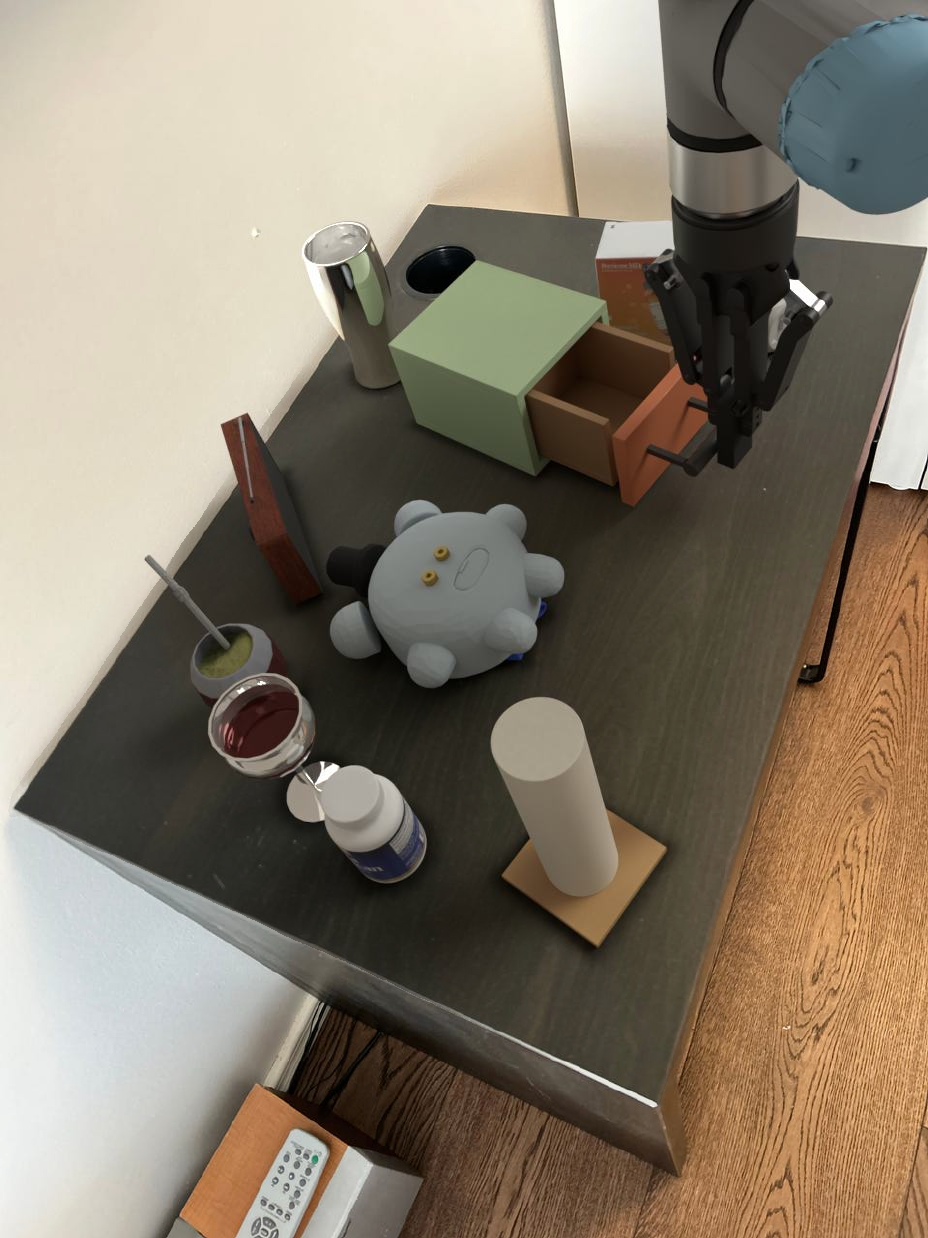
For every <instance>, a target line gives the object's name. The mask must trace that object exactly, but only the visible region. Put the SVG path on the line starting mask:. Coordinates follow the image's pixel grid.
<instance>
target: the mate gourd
mask: <svg viewBox="0 0 928 1238" xmlns="http://www.w3.org/2000/svg"><path fill="white" fill-rule="evenodd" d="M143 559H144V561H145V562H146V564H148V566H149V567H150V568H152V570H153V571H154V572H155V573H156V574H157V575H158V576H159V578H161V579H162V580H163V581H164V582H165V583H166V585H167V586H168V587H169V588H170V589H171V590H172V591H173V595H174V596H175V597H176V598H177V599H178V600H179V602H180V603H183V604H184V605H185V606H186V607H187V608H188V609H189V611H191V612H192V614H193V615H194V616H195V617H196V619H198V621H199V622H200V623H201V624H202V625H203V627H204V628H205V629H206V630H207V631H208V632H207V633H206V634H205V635H203V637H202V638H201V640H200V641H199V642H198V643H197V644H196V645H195V647H194V651H193V653H192V656H191V658H190V665H189V668H190V680H191V682H192V684H193V686H194V688H195V690H196V692H197V694H198V695H199V697H201V699H202V701H203V702H204V704H205V705H206V706H207V707H209V708H210V709H211V710H213V707H214V705H215V704H216V702H217V701H218V700H219V698H220V697H221V695H222V694H223V693H224V692H225V691H226V690H228V689H229V688H230V687H231V686H232V685H233V684H235V683H236V682H238V681H240V680H242V679H244V678H246V677H248V676H252V675H256V674H261V673H272V674H278V675H281V676H283V677H286V678H288V679H289V675H288V670H287V664H286V660H285V655H284V654H283V652H282V650H281V649H280V647H279V646H278V644H277V643H276V642H275V640H274V639H273V638H272V637H271V636H270V635H269V634H267V633H266V632H264V630H263V629H261V628H258V627H256V626H254V625H251V624H250V623H226V624H223V625H220V626H215V625H214V624H213V623H212V622H211V621H210V619H209V618H208V617H207V616H206V615H205V614H204V613H203V611H202V610H201V609H200V608H199V606H197V604H196V603H195V602H194V600H193V599H192V598H191V597H190V593H189V592H188V591H187V590H186V589H185V588H184V587H183V586H182V585H179V583H178V582H177V581H176V580H175V579H174V578H173V577H172V576H171V575H170V574H169V573H168V572H167V570H165V569H164V568H163V566H161V564H160V563H158V561H156V559H154V557H153V556H151V554H147V555H146V556H145V557H144V558H143Z"/></svg>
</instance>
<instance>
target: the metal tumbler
mask: <svg viewBox="0 0 928 1238" xmlns="http://www.w3.org/2000/svg"><path fill="white" fill-rule="evenodd" d="M301 257H302V259H303V261H304V264H305V267H306V270H307V273H308V277H309V280H310V282H311V286H312V288H313V291H314V293H315V296H316V298H317V300H318V303H319V305H320V307H321V308H322V310H323V312H324V314H325V315H326V317H327V319H328V320H329V322H330V323H331V325H332V326H333V328H334V329H335V331H336V332H337V333H338V335H339V337H340V338H341V339H342V342H343V343H344V344H345V347H346V348H347V350H348V351H349V355H350V358H351V361H352V367H353V372H354V376H355V379H356V381H357V383H359V384H360V386H362V387H365V388H367V389H372V390H373V389H374V390H379V389H385V388H389V387H391V386H393V385H395V384H398V383H399V382H401V378H400V376H399V373H398V370H397V368H396V365H395V362H394V359H393V357H392V354H391V351H390V349H389V346H388V344H389V343H390V342H391V341H392V340H393V339H395V338H396V337H397V336H398V335H399V334H400V333H399V331H398V327H397V322H396V317H395V316H396V315H395V309H394V301H393V295H392V290H391V286H390V281H389V277H388V274H387V271H386V267H385V265H384V263H383V259H382V257H381V255H380V252H379V250H378V248H377V245H376V244H375V241H374V239H373V237H372V235H371V231H370V229H369V228H368V227H367V225H365V224H364V223H361V222H358V221H353V220H345V221H344V220H343V221H338V222H334V223H331V224H329V225H326V226H324V227H322V228H320V229H318V230H317V231H315V232H314V233H312V235H310V236H309V238H307V239H306V241H305V242H304V244H303V246H302V249H301Z"/></svg>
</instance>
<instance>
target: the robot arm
mask: <svg viewBox="0 0 928 1238" xmlns="http://www.w3.org/2000/svg"><path fill="white" fill-rule="evenodd" d="M657 2H658V4H657V5H658V16H659V17H658V19H659V31H660V45H661V57H662V69H663V71H662V72H663V85H664V96H665V97H664V98H665V109H666V113H665V114H666V143H667V164H668V184H669V185H668V186H669V189H670V192H671V197H670V207H671V220H672V226H673V242H674V247H675V249H674V250H672V249H666V250H664V252H663V253H662V254H661V255H660V256H659V257H658V258H657V259H656V260H655V261H654V262H653V263H652V264H651V265H650V266H649V267H648V268H647V269H646V270H645V272H644V276H645V279H646V280H647V282H648V284H649V285H650V287H651V288H652V290H653V292H654V293H655V295H656V296H657V298H658V300H659V303H660V306H661V310H662V313H663V316H664V320H665V323H666V326H667V329H668V333H669V336H670V339H671V343H672V346H673V349H674V357H675V359H676V363H678V366H679V369H680V372H681V375H682V378H683V380H684V381H685V383H687V384H689V385H694V384H695V383H697V384H698V385H700V386H701V387H703V391H704V394H705V395H706V396H707V408H708V419H707V421H708V422H709V424H710V425H713V426H715V427H717V453H716V463H717V464H719V465H721V466H724V467H726V468H729V469H731V470H736V468H737V467H738V465H740V462H741V461H742V460H743V459H744V458H745V457H746V455H747V454H748V453H749V452H750V451H751V449H752V448H753V434H754V433H755V432H756V431H757V430H758V428H759V427H760V426H761V425H762V423H763V412H770V411H772V409H773V408H774V407H775V406H776V405H777V403H778V402H779V401H780V400H781V399H782V398H783V396H784V395H785V394H786V393H787V392H788V390H789V388H790V387H791V385H792V381H793V379H794V377H795V374H796V372H797V369H798V368H799V367H798V366H799V364H800V361H801V359H802V356H803V354H804V351H805V349H806V346H807V343H808V341H809V339H810V336H811V334H812V331H813V329H814V327H815V325H816V324H817V323H818V322H819V321H820V320H821V318H823V316H824V315H825V314H826V312H828V311H829V309H830V307H831V306H832V305H833V304H834V298H833V295H831V294H830V293H829V292H828V291H825V290H819V291H818V292H816V293H815V294H814V293H813V292H812V291H810V290H809V289H808V288H807V287H806V286H805V285H804V284H803V283H802V282H801V281H800V276H801V273H800V267H799V265H798V263H797V261H796V258H795V254H794V253H795V252H794V250H795V244H796V240H797V235H798V225H799V224H798V222H799V208H800V207H799V205H800V190H801V187H800V185H801V184H800V180H802V181H803V182H804V183H805V184H807V186H808V187H812V188H815V189H816V191H817V190H821V191H823V192H824V193H825V194H827V195H829V196H830V197H832V198H833V199H835V200H836V201H838V202H839V203H841V204H842V205H844V206H845V207H847V208H848V209H849V210H852V211H854V212H856V213H860V214H862V215H863V214H864V215H870V216H882V215H889V214H894V213H898V212H902V211H905V210H907V209H909V208H912V207H913V206H915V205H918V204H919V203H921V202H923V201H925V200H926V199H928V0H657ZM799 179H800V180H799ZM782 299H784V300H785V302H786V309H785V311H784V314H785V317H784V319H783V322H784V324H786V325H787V326H786V328H785V329H784V330H783V332H782V333H781V335H780V337H779V340H778V343H777V346H776V348H775V351H773V355H772V357H771V360H770V363H769V366H768V356H769V355H768V354H769V352H768V322H769V316H770V314H771V311H772V308H773V307H774V306H775V305H776V304H777V303H778V302H779V301H781V300H782ZM694 356H695V357H696V359H695V360H694ZM732 380H733V382H732Z"/></svg>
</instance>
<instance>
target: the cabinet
mask: <svg viewBox="0 0 928 1238" xmlns="http://www.w3.org/2000/svg"><path fill="white" fill-rule="evenodd" d="M595 321H596V322H599V323H602V324H605V325H608V326H609V318H608V311H607V304H606V301H604V300H601V299H599V297H595V296H592V295H589V294H585V293H582V292H579V291H576V290H573V289H570V288H566V287H564V286H560V285H557V284H554V283H551V282H547V281H544V280H541V279H539V278H535V277H531V276H528V275H525V274H522V273H519V272H516V271H512V270H510V269H506V268H504V267H500V266H497V265H493V264H491V263H489V262H484V261H481V260H478V259H477V260H475V261H474V262H473V263H472V264H470V266H469V267H468V268H467V269H465V271H464V272H463V273H461V275H459V276H458V277H457V278H456V279H455V280H454V281H453V282H452V283H451V284H450V285H449V286H448V287H447V288H446V289H444V291H442V293H441V294H439V295H438V296H437V297H436V298H435V299H434V300H433V301H432V302H431V303H430V304H429V305H428V306H427V307H426V308H425V309H423V311H421V313H420V314H419V315H417V316H416V317H415V318H414V319H413V320H412V321H411V322H410V323H409V324H408V325H407V326H406V327H405V328H404V329H403V330H402V331H401V332H399V333H398V334H399V335H398V336H397V337H396V338H395V339H393V340H392V341H391V342H390V343H389V344H388V346H389V349H390V351H391V354H392V357H393V359H394V362H395V365H396V368H397V370H398V373H399V376H400V378H401V380H400V382H401V383H402V386H403V389H404V393H405V395H406V398H407V401H408V402H409V405H410V408H411V411H412V414H413V416H414V420H415V422H416V424H418V425H420V426H422V427H424V428H426V429H429V430H431V431H433V432H435V433H437V434H440V435H442V436H444V437H446V438H449V439H451V440H453V441H456V442H458V443H460V444H462V445H464V446H467V447H469V448H471V449H473V450H476V451H478V452H480V453H483V455H484V454H485V455H487V456H489V457H490V458H493V459H495V460H497V461H500V462H502V463H505V464H507V465H509V466H511V467H514V468H516V469H518V470H520V471H522V472H525V473H527V474H528V475H531V476H534V477H537V476H538V475H539V474H540V473H541V472H542V470H543V469H544V468H545V467H546V466H547V465H548V464H549V463H550V461H552V460H551V459H548V458H546V457H544V456H541V455H539V454H537V450H536V446H535V441H534V437H533V433H532V429H531V425H530V420H529V416H528V412H527V408H526V404H525V399H524V396H525V395H526V394H527V393H528V392H529V391H530V390H531V389H532V388H533V387H534V386H535V385H536V384H537V382H538V381H539V380H540V379H541V378H542V377H543V376H544V375H545V374H546V373H547V372H548V371H549V370H550V369H551V368H552V367H553V366H554V365H555V364H556V362H557V361H558V360H559V359H560V358H561V357H562V356H563V355H564V354H565V353H566V352H567V351H568V350H569V349H570V348H571V347H572V346H573V345H574V343H575V342H576V341H577V340H578V339H579V338H580V337H581V336H582V335H583V334H584V333H585V332H586V331H587V330H588V329H589V328H590V327H591V326H592V325H593V323H594V322H595Z"/></svg>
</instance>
